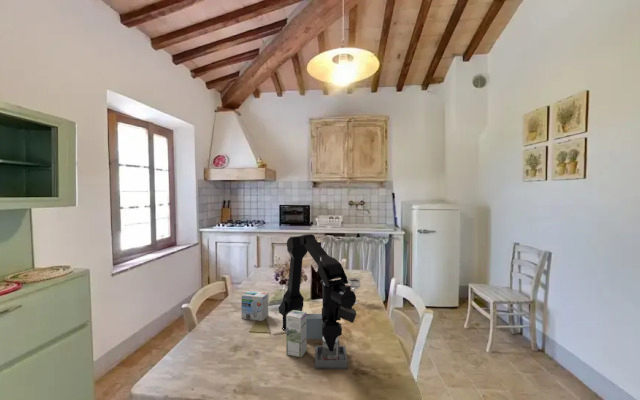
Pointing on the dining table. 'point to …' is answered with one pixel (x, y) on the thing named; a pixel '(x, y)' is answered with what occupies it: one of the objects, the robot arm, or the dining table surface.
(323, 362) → the parts tray
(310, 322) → the mounted unit
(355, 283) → the wineglass
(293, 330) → the syrup box
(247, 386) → the dining table surface
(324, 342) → the pill bottle
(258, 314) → the light bulb box
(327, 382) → the dining table surface
